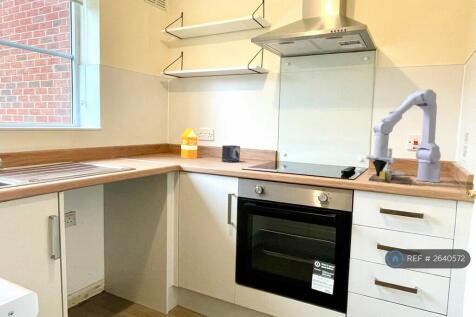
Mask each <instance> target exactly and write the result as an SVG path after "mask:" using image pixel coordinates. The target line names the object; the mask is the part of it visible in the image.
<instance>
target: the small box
mask: <svg viewBox="0 0 476 317" xmlns="http://www.w3.org/2000/svg"><path fill="white" fill-rule="evenodd" d="M221 147H222V150H221V152H222V153H221V162H223V163H240V159H241V158H240V156H241V146H240V145H232V144H231V145H222V146H221Z"/></svg>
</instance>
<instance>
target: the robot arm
mask: <svg viewBox="0 0 476 317" xmlns="http://www.w3.org/2000/svg"><path fill="white" fill-rule="evenodd" d="M413 106H416V107H419V108H420V109H421V110H422V111H423V113H422V114H423V115H422V129H421V130H422V131H421V142H420V143H419V144H418V145H417V150H416V151H415V152H416V153H415V158H416V159H417V162H418V168H417V177H416V178H415V180H416V181H419V182H430V183H440V179H441V163H438V162H439V161H440V160H441V156H442V154H441V151H440V146H439V145H438V144H437V143H436V130H437V129H436V127H437V111H438V104H437V93H436V92H435V91H434V90H433V89H423V90H413V91H411V92H410V94H408V95H407V98H406V99H405V100H404V101H403V102H402V104H400V106H398V107H397V109H396V110H395V109H393V110H390V111H388V114H387V115H386V116H384V117H382V118H381V121H377V122H376V123H375V124H374V126H373V128H372V129H373V132H374V136H375V140H374V150H373V152H374V153H373V154H372V155H369V154H368V155H366V156H365V160H372V164H373V166H374V167H375V168H374V169H375V171H376V173H375V174H376V175H377V176H380V171H383V169H384V167H385V165H386V164H387V162H391V164H393V163H396V161H397V160H396V158H395V157H392V158H390V157H387V153H388V148H389V138H390V134H391V133H392V131H394V130H393V129H394V127H395V126H396V125H397V124H398V123H399V122H400V121H401V120H402V119H403V115H404V114H405V113H406V112H407V111H409V110H410V109H411V108H412V107H413ZM379 159H383V160H379Z"/></svg>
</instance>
